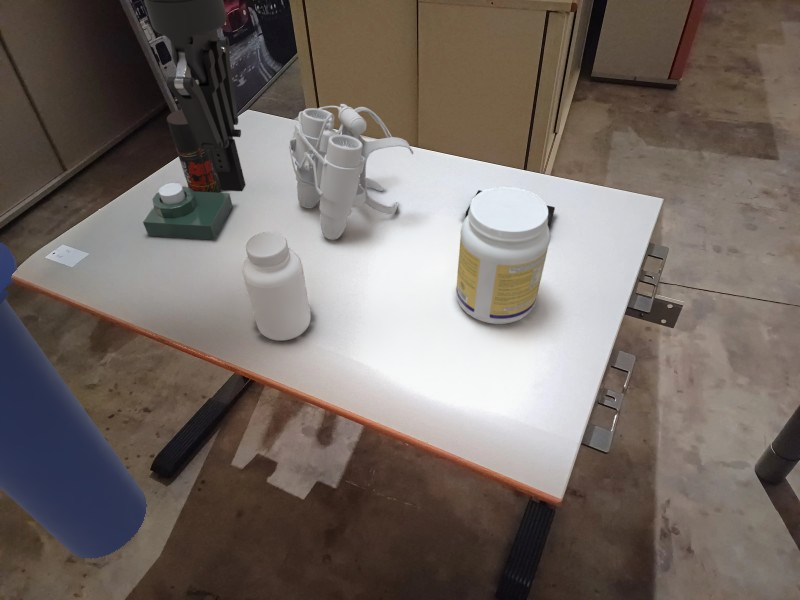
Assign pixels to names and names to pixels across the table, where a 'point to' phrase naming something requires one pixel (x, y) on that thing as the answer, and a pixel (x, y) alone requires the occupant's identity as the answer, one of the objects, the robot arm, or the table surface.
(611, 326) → the table surface
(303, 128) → the rocket backpack
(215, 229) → the button base
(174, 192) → the white button cap
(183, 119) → the deodorant
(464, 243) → the supplement tub
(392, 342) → the table surface
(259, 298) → the pill bottle
